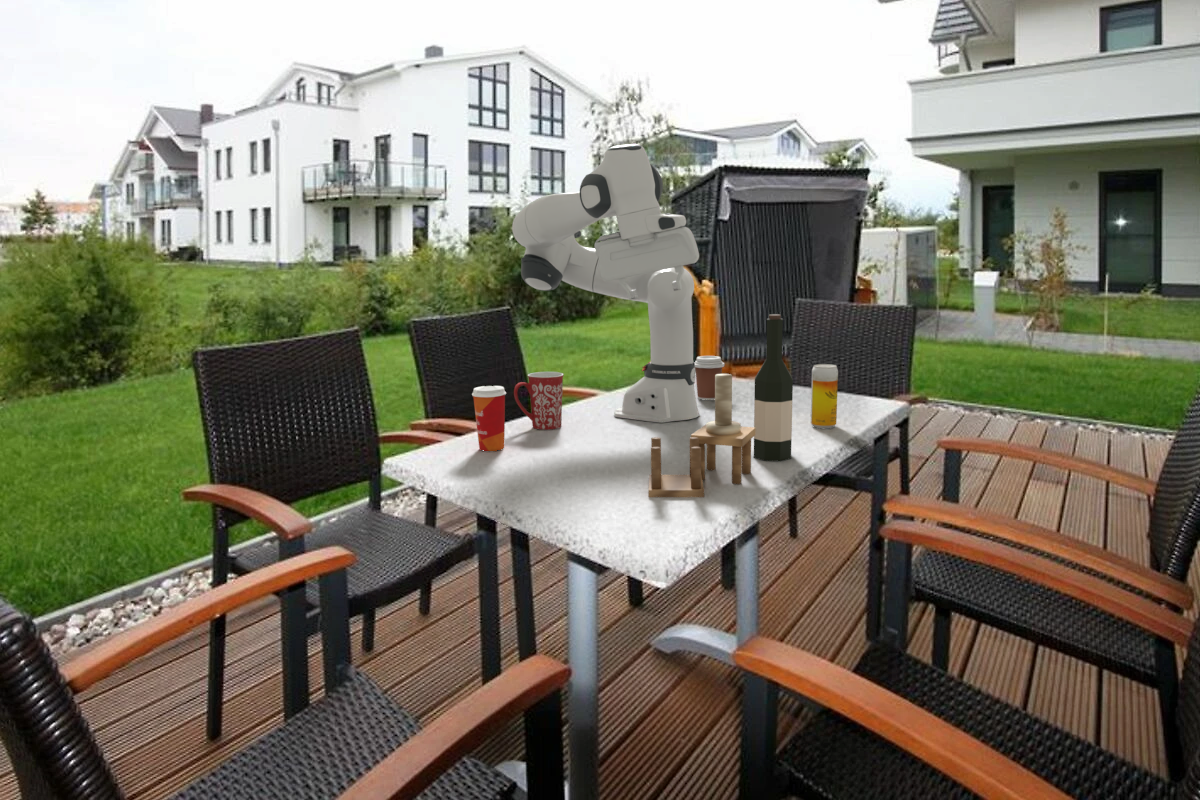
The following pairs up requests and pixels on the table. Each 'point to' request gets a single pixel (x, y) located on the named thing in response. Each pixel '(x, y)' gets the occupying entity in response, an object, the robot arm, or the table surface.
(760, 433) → the wine bottle
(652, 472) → the upturned stool
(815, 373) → the beer can
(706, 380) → the coffee cup
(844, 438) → the table surface
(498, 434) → the paper cup
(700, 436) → the stool
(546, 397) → the mug
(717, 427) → the ring stacker tower
